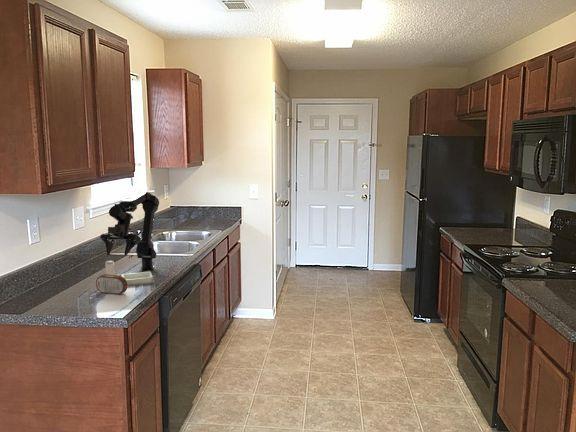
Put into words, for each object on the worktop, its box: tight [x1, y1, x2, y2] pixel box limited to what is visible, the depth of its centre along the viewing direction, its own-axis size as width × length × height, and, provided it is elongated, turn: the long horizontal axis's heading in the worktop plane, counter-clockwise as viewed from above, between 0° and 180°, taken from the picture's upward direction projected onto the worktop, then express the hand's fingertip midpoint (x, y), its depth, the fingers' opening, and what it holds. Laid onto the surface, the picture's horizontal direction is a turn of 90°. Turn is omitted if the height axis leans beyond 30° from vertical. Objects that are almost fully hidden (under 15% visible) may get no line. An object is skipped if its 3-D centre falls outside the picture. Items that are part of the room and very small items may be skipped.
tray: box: [120, 271, 154, 287], centre depth 231 cm, size 12×14×3 cm
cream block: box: [105, 260, 116, 275], centre depth 235 cm, size 4×4×9 cm
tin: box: [95, 273, 129, 295], centre depth 212 cm, size 15×3×8 cm, turn 74°
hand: (116, 255), depth 224 cm, fingers open, 9 cm apart
